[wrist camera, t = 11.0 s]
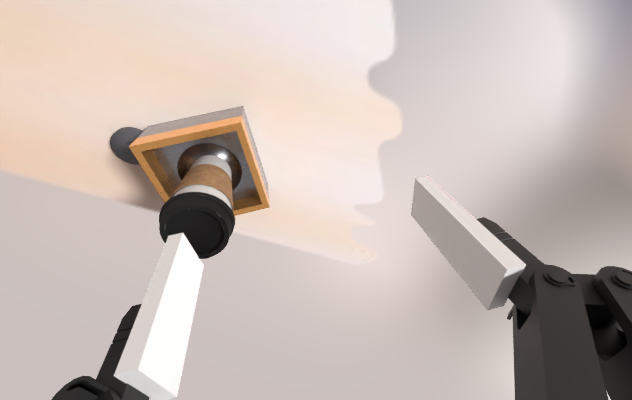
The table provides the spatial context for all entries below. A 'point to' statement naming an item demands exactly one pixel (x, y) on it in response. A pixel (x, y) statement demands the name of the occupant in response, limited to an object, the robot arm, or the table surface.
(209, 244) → the coffee cup
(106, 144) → the table surface
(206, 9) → the table surface
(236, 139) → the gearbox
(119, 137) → the disc
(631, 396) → the robot arm
